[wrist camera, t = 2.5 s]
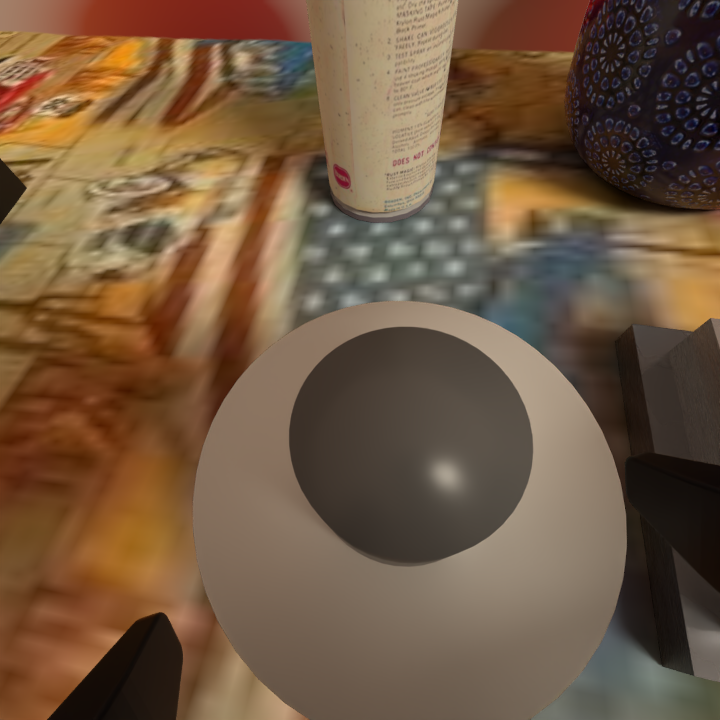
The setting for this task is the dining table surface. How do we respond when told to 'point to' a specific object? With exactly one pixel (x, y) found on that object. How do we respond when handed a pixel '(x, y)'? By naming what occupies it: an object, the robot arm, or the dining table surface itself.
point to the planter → (649, 98)
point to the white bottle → (409, 519)
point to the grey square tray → (684, 440)
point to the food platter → (8, 190)
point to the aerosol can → (381, 99)
